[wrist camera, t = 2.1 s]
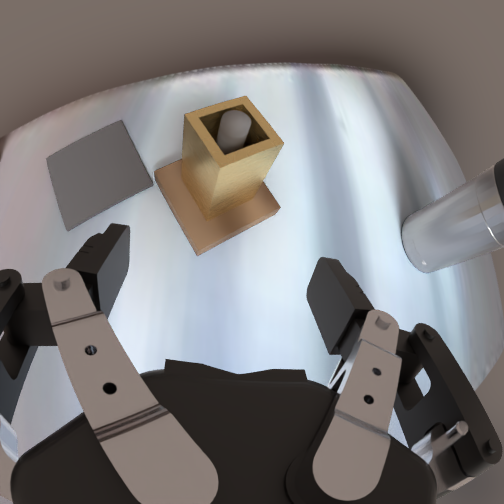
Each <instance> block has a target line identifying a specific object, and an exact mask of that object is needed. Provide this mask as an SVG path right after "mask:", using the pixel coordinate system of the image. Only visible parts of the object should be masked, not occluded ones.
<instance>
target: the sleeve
mask: <svg viewBox="0 0 504 504" xmlns="http://www.w3.org/2000/svg"><path fill="white" fill-rule="evenodd" d="M231 110H237V111H241V112H244V113H245V114H247V115H248V116H249V118H250V119H251V126H250V129H249V131H248V134H247V137H246V139H245V142H244V145H243V148H242V149H240V150H237V151H235V152H232V153H230V154H227V155H224V154H223V152H222V151H221V149H220V148H219V147H218V145H217V144H216V140H217V136H218V131H219V127H220V123H221V118H222V116H223V114H224V113H226V112H227V111H231ZM283 145H284V142H283V141H282V140H281V138H280V137H279V136H278V135H277V133H276V132H275V131H274V129H273V128H272V127H271V126H270V124H269V123H268V122H267V121H266V119H265V118H264V117H263V116H262V114H261V113H260V112H259V111H258V110H257V108H256V107H255V106H254V105H253V103H252V102H251V101H250V100H249V99H248V98H247V96H243V97H240V98H236V99H232V100H229V101H225V102H222V103H218V104H215V105H212V106H208V107H205V108H202V109H199V110H196V111H193V112H190V113H187V114H185V115H184V130H183V147H182V171H181V179H182V180H183V182H184V184H185V186H186V187H187V189H188V191H189V192H190V194H191V196H192V197H193V199H194V201H195V203H196V204H197V206H198V208H199V209H200V211H201V213H202V214H203V216H204V218H205V219H206V221H209V220H211V219H213V218H215V217H217V216H219V215H221V214H223V213H225V212H227V211H229V210H231V209H233V208H235V207H237V206H239V205H241V204H243V203H246V202H248V201H250V200H252V199H253V198H254V196H255V195H256V193H257V191H258V189H259V187H260V185H261V184H262V182H263V180H264V178H265V177H266V175H267V173H268V171H269V169H270V168H271V166H272V164H273V162H274V160H275V159H276V157H277V155H278V153H279V152H280V150H281V148H282V146H283Z"/></svg>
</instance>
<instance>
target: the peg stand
mask: <svg viewBox="0 0 504 504" xmlns="http://www.w3.org/2000/svg"><path fill="white" fill-rule="evenodd" d="M250 126H251V119H250V118H249V116H248V115H247V114H245V113H244V112H241V111H237V110H231V111H227V112H226V113H224V114H223V116H222V118H221V123H220V127H219V131H218V136H217V140H216V144H217V145H218V147H219V148H220V149H221V151H222V152H223V154H224V155H227V154H230V153H232V152H235V151H237V150H240V149H242V148H243V145H244V142H245V139H246V137H247V134H248V131H249V129H250ZM181 171H182V159H181V160H178V161H176V162H174V163H171V164H169V165H167V166H165V167H162V168H160V169H158V170H156V171H154V174H155V181H156V183H157V185H158V186H159V188H160V190H161V192H162V194H163V196H164V198H165V199H166V201H167V203H168V205H169V207H170V209H171V210H172V212H173V214H174V216H175V218H176V219H177V221H178V223H179V225H180V227H181V228H182V230H183V232H184V234H185V235H186V237H187V239H188V241H189V242H190V244H191V246H192V248H193V249H194V251H195V253H196V255H197V256H199V255H200V254H202V253H204V252H206V251H208V250H210V249H211V248H213V247H215V246H217V245H219V244H221V243H222V242H224V241H226V240H228V239H230V238H232V237H234V236H235V235H237V234H239V233H241V232H243V231H245V230H247V229H249V228H250V227H252V226H254V225H256V224H258V223H260V222H262V221H264V220H266V219H267V218H269V217H271V216H273V215H275V214H276V213H277V211H278V210H279V209H280V208H281V207H280V206H279V204H278V203H277V201H276V200H275V198H274V197H273V195H272V194H271V192H270V191H269V189H268V188H267V186H266V185H265V183H264V182H262V184H261V185H260V187H259V189H258V191H257V193H256V195H255V196H254V198H253V199H252V200H250V201H248V202H246V203H243V204H241V205H239V206H237V207H235V208H233V209H231V210H229V211H227V212H225V213H223V214H221V215H219V216H217V217H215V218H213V219H211V220H209V221H206V219H205V218H204V216H203V214H202V213H201V211H200V209H199V208H198V206H197V204H196V203H195V201H194V199H193V197H192V196H191V194H190V192H189V191H188V189H187V187H186V186H185V184H184V182H183V180H182V179H181Z"/></svg>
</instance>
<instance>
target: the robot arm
mask: <svg viewBox="0 0 504 504" xmlns="http://www.w3.org/2000/svg"><path fill="white" fill-rule="evenodd" d="M402 240H403V245H404V248H405V252H406V254H407V256H408V258H409V260H410V261H411V263H412V264H413V265H414V266H415V267H416V268H417V269H418V270H420V271H422V272H424V273H430V272H434V271H437V270H440V269H443V268H446V267H450V266H453V265H456V264H459V263H462V262H465V261H467V260H470V259H473V258H476V257H479V256H481V255H484V254H487V253H490V252H492V251H495V250H498V249H500V248H503V247H504V159H502V160H501V161H499V162H497V163H496V164H495V165H493V166H492V167H490V168H489V169H487V170H485V171H484V172H482V173H481V174H479V175H478V176H476V177H475V178H473V179H471V180H470V181H468V182H466V183H465V184H463V185H461V186H460V187H458V188H456V189H455V190H453V191H451V192H450V193H448V194H446V195H445V196H443V197H441V198H439V199H438V200H436V201H434V202H433V203H431V204H429V205H427V206H425V207H424V208H422V209H420V210H419V211H417V212H415V213H413V214H412V215H410V216H409V217H407V218H406V220H405V221H404V224H403V228H402ZM129 249H130V227H129V226H127V225H121V224H114V223H111V224H110V226H109V227H108V228H107V230H106V231H105V232H104V233H103V234H101V233H97V234H96V235H94V236H92V237H90V238H89V239H88V240H87V241H86V242H85V244H84V245H83V246H82V247H81V249H80V250H79V252H77V254H76V255H75V256H74V258H73V259H72V260H71V261H70V263H69V264H68V265H67V267H66V268H61V269H56V270H53V271H51V272H49V273H48V274H47V275H46V276H45V277H44V278H43V280H42V283H23V282H22V278H21V275H20V273H19V272H18V271H16V270H13V269H4V270H0V335H1V334H2V332H3V331H4V334H3V336H2V338H1V340H0V496H2V497H4V498H6V499H8V500H10V501H12V502H13V504H436V499H438V498H440V497H442V496H444V495H446V494H448V493H450V492H452V491H454V490H455V489H457V488H459V487H461V486H462V485H464V484H466V483H467V482H469V481H471V480H472V479H474V478H476V477H477V476H479V475H480V474H482V473H483V472H485V471H486V470H488V469H489V468H491V467H492V466H493V465H495V464H496V463H497V462H499V460H500V459H501V456H502V445H501V442H500V440H499V438H498V436H497V433H496V432H495V429H494V427H493V425H492V423H491V421H490V419H489V417H488V415H487V413H486V412H485V410H484V408H483V406H482V404H481V402H480V400H479V399H478V397H477V395H476V393H475V391H474V390H473V388H472V386H471V384H470V383H469V381H468V379H467V378H466V376H465V374H464V373H463V371H462V369H461V368H460V366H459V364H458V363H457V361H456V360H455V358H454V356H453V355H452V353H451V352H450V350H449V349H448V347H447V346H446V344H445V343H444V341H443V340H442V338H441V337H440V335H439V334H438V332H437V331H436V330H434V329H433V328H432V327H430V326H429V325H426V324H423V323H419V324H416V326H415V327H414V329H413V330H412V332H408V331H404V330H401V329H399V325H398V323H397V321H396V320H395V319H394V318H393V317H392V316H391V315H389V314H387V313H386V312H383V311H380V310H375V309H374V307H373V306H372V304H371V303H370V301H369V300H368V298H367V297H366V295H365V294H364V293H363V291H362V289H361V288H360V287H359V285H358V283H357V282H356V280H355V279H354V278H353V277H352V276H351V275H350V274H348V273H347V272H346V271H345V269H344V268H343V266H342V265H341V263H340V262H339V260H337V259H331V258H325V257H321V258H320V259H319V260H318V262H317V265H316V267H315V270H314V272H313V275H312V278H311V280H310V283H309V285H308V288H307V301H308V303H309V306H310V308H311V311H312V313H313V315H314V318H315V320H316V323H317V325H318V328H319V330H320V333H321V335H322V338H323V340H324V343H325V345H326V348H327V350H328V353H329V355H341V356H342V357H341V359H340V360H339V362H338V364H337V366H336V368H335V370H334V372H333V374H332V376H331V378H330V381H329V383H328V385H327V387H326V386H324V385H322V384H320V383H317V382H314V381H311V380H307V377H306V373H305V370H292V369H270V370H265V371H259V372H253V373H246V374H235V373H231V372H228V371H224V370H221V369H217V368H214V367H211V366H207V365H204V364H200V363H192V362H184V361H176V360H169V359H166V361H165V369H161V370H153V371H148V372H145V373H141V374H139V373H138V372H137V370H136V369H135V367H134V365H133V364H132V362H131V361H130V359H129V357H128V356H127V354H126V352H125V351H124V349H123V347H122V345H121V344H120V342H119V340H118V338H117V337H116V335H115V333H114V331H113V329H112V328H111V326H110V324H109V322H108V320H107V319H108V317H109V314H110V312H111V309H112V307H113V305H114V302H115V300H116V298H117V295H118V293H119V291H120V288H121V286H122V284H123V282H124V279H125V277H126V275H127V272H128V267H129ZM38 346H58V348H59V351H60V354H61V357H62V360H63V362H64V365H65V368H66V371H67V373H68V376H69V378H70V381H71V383H72V386H73V388H74V391H75V393H76V395H77V398H78V400H79V402H80V404H81V406H82V409H83V411H84V412H83V413H81V414H80V415H78V416H77V417H76V418H74V419H73V420H71V421H70V422H68V423H67V424H66V425H64V426H63V427H61V428H60V429H59V430H57V431H56V432H54V433H53V434H51V435H50V436H48V437H47V438H46V439H44V440H43V441H41V442H40V443H38V444H37V445H35V446H34V447H32V448H31V449H29V450H28V451H27V452H25V453H24V454H23V455H22V456H21V457H20V458H18V450H17V443H18V442H17V436H16V433H15V431H14V429H13V427H12V426H11V422H12V418H13V415H14V411H15V408H16V405H17V402H18V399H19V396H20V393H21V390H22V387H23V384H24V381H25V379H26V376H27V373H28V371H29V368H30V365H31V363H32V360H33V358H34V356H35V353H36V351H37V348H38ZM423 367H424V369H425V371H426V373H427V375H428V377H429V379H430V381H431V387H430V390H429V392H428V393H427V394H426V395H425V396H423V394H422V392H421V390H420V388H419V386H418V384H417V382H416V380H415V377H416V375H417V374H418V373H419V372H420V371H421V369H422V368H423ZM393 407H394V410H395V412H396V415H397V417H398V420H399V422H400V425H401V428H402V430H403V433H404V436H405V438H406V441H407V444H408V447H409V448H407V447H406V446H405V445H403V444H402V443H400V442H399V441H398V440H396V439H395V438H394V437H392V436H391V435H390V434H388V427H389V423H390V419H391V415H392V410H393Z"/></svg>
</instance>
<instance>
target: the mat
mask: <svg viewBox="0 0 504 504" xmlns="http://www.w3.org/2000/svg"><path fill="white" fill-rule="evenodd" d="M46 160H47V165H48V169H49V173H50V177H51V181H52V185H53V188H54V192H55V195H56V199H57V202H58V206H59V209H60V212H61V215H62V218H63V221H64V224H65V227H66V230H67V231H70V230H71V229H73V228H75V227H76V226H78V225H80V224H81V223H83V222H85V221H87V220H88V219H90V218H92V217H94V216H95V215H97V214H99V213H101V212H103V211H105V210H106V209H108V208H110V207H112V206H114V205H116V204H118V203H119V202H121V201H123V200H125V199H127V198H129V197H131V196H133V195H135V194H137V193H139V192H141V191H143V190H145V189H147V188H149V187H151V186H153V183H152V181H151V179H150V177H149V175H148V173H147V171H146V169H145V168H144V166H143V164H142V162H141V160H140V158H139V156H138V154H137V152H136V150H135V148H134V146H133V144H132V142H131V140H130V137H129V135H128V133H127V131H126V129H125V127H124V125H123V123H122V121H121V120H120V121H118V122H116V123H113V124H111V125H109V126H107V127H105V128H102V129H100V130H98V131H96V132H94V133H92V134H90V135H88V136H86V137H84V138H82V139H80V140H78V141H76V142H74V143H72V144H71V145H69V146H67V147H65V148H63V149H62V150H60V151H58V152H56V153H54V154H53V155H51V156H49V157H48V158H46Z"/></svg>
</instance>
